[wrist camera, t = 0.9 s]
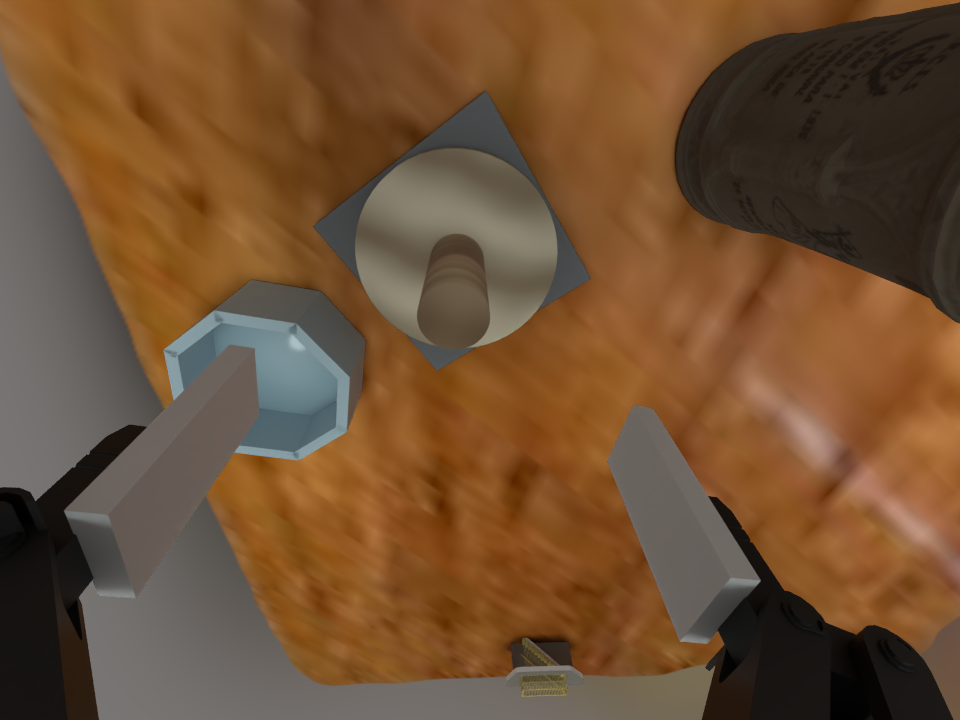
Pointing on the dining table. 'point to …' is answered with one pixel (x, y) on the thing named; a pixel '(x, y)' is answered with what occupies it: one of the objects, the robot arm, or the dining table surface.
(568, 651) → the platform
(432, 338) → the lid
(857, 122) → the beer stein
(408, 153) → the mat
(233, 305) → the bowl
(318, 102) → the dining table surface
